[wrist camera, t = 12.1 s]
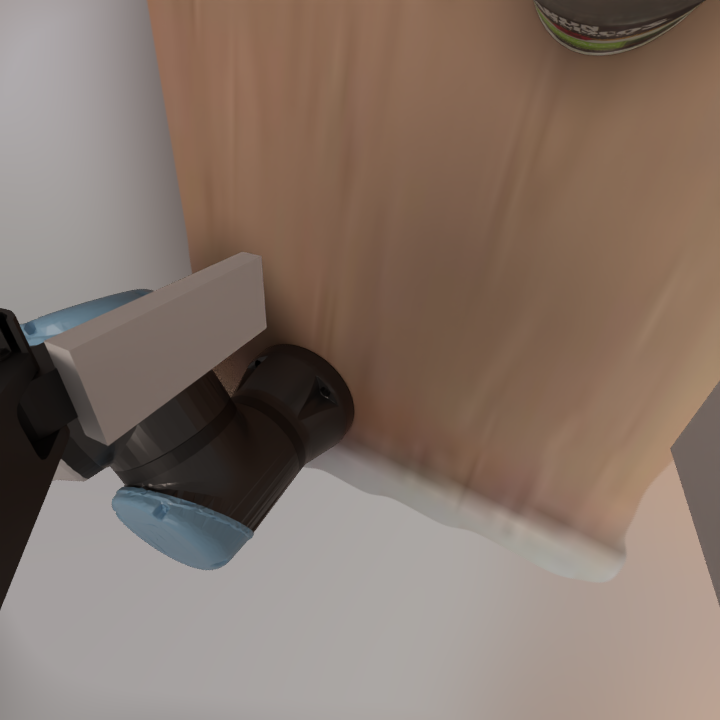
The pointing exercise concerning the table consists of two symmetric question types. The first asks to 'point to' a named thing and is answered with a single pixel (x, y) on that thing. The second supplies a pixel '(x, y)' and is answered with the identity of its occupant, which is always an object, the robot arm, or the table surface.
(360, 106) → the table surface
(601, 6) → the coffee can
